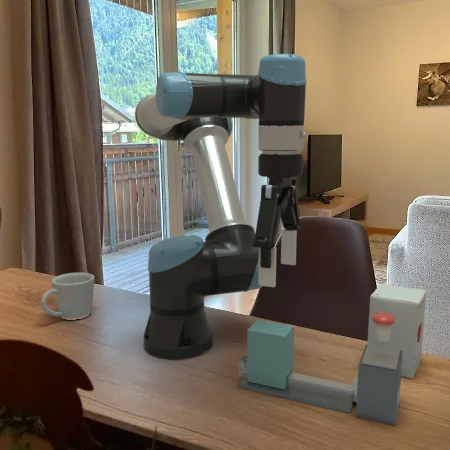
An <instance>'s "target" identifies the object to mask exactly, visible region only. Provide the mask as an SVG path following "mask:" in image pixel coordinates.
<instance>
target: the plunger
mask: <svg viewBox="0 0 450 450" xmlns="http://www.w3.org/2000/svg"><path fill="white" fill-rule="evenodd" d="M372 321H373V322H374V323H375V339H376V340H378V341H381V342H388V341H390V335H391V325H392V324H394V323H395V317H394V316H393V315H391V314H388V313H382V312H379V313H374V314H373V316H372Z"/></svg>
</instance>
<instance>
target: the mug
mask: <svg viewBox="0 0 450 450" xmlns="http://www.w3.org/2000/svg"><path fill="white" fill-rule="evenodd" d="M50 283H51V287H52V288H51V289H48V290H47V291H45V292H44V293H43V294H42V296H41V300H40V305H41V308H42V310H43V311H44V312H45V313H46V314H48V315H50V316H51V317H52V316H53V317H60V316H62V317H64V318H70V319H72V318H80V317H84V316H87V315H89V314H90V313H91V314H92V308H93V297H94V287H95V275H94V274H92V273H89V272H69V273H63V274H60V275H57V276H55V277H53V278H52V279H51V281H50ZM52 294H53V295H54V298H55V302H56V306H57V307H56V308H57V310H58V311H57V310H52V309H50V308H49V307H48V306H47V302H46V301H47V299H48V297H49V296H50V295H52Z"/></svg>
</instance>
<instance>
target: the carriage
mask: <svg viewBox="0 0 450 450" xmlns="http://www.w3.org/2000/svg"><path fill="white" fill-rule="evenodd" d="M294 326H295V325H291V324H290V325H289V324H284V323H283V324H282V323H276V322H272V321H265V320H259V319H256V321H254V323H253V324H251V326H250V327H248V329H247V330H246V331H247V332H246V333H247V334H246V335H247V336H246V338H247V340H246V341H247V345H246V346H247V349H246V352H247V354H246V356H247V372H248V382H252V383H257V384H261V385H266V386H270V387H275V388H279V389H284V390H285V389H286V387H287V375H288V374H289V372H292V373H293V368H294V333H295V332H294V330H295V329H294Z"/></svg>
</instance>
